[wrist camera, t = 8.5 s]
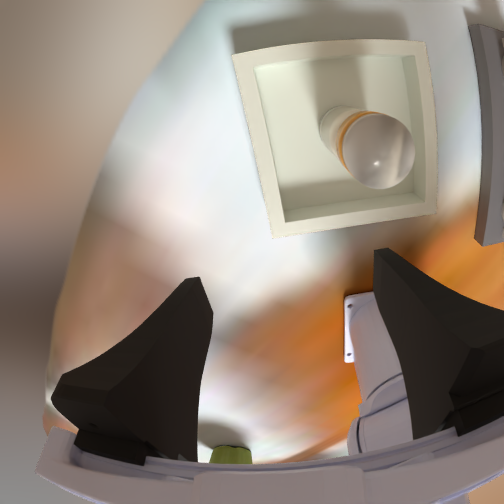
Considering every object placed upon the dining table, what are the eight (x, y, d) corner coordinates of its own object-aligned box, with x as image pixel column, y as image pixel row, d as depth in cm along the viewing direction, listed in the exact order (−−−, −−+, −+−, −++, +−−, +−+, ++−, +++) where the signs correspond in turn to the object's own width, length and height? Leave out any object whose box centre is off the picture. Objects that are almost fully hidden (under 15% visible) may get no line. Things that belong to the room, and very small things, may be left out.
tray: (421, 200, 20) (436, 213, 18) (272, 221, 22) (272, 238, 20) (407, 45, 14) (424, 41, 12) (236, 59, 16) (231, 55, 14)
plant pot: (193, 450, 48) (184, 497, 38) (217, 435, 42) (209, 493, 33) (244, 463, 50) (240, 508, 41) (275, 449, 45) (274, 502, 35)
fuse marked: (371, 152, 18) (416, 184, 12) (323, 159, 19) (349, 194, 13) (364, 102, 16) (411, 111, 10) (313, 108, 17) (338, 117, 11)
